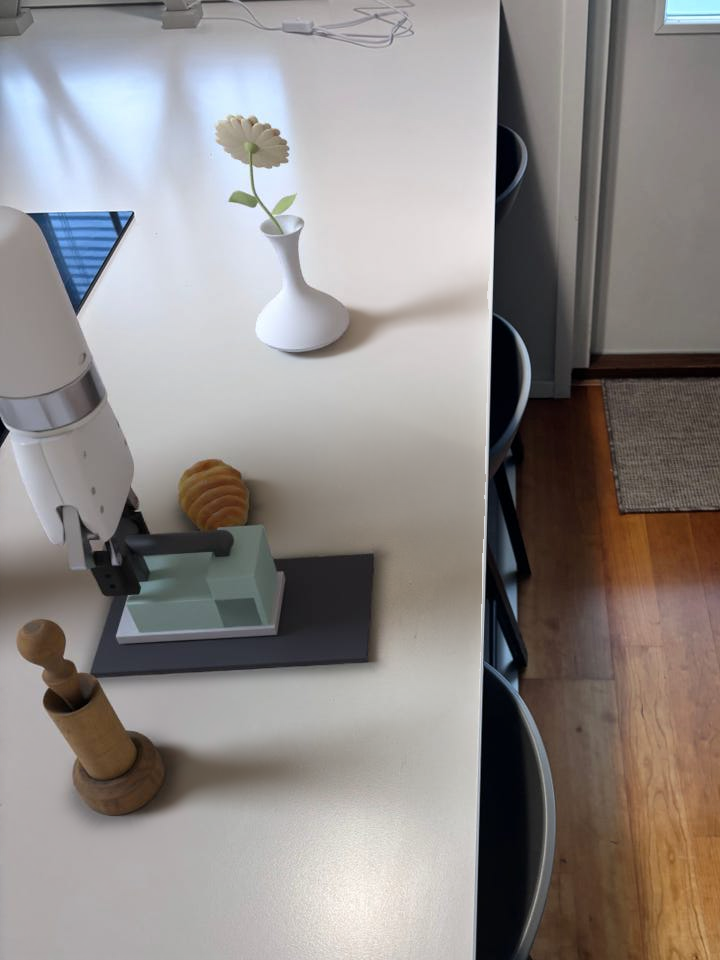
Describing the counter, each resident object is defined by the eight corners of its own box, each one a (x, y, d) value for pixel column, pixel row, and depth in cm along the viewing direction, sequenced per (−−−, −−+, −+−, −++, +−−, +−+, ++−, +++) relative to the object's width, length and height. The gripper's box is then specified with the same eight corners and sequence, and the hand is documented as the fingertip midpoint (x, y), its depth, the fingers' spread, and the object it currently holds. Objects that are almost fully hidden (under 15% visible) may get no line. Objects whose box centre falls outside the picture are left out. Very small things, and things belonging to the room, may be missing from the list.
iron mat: (91, 677, 85) (89, 673, 85) (124, 572, 94) (122, 567, 93) (367, 662, 84) (366, 657, 84) (374, 557, 93) (373, 552, 93)
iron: (119, 644, 86) (80, 566, 79) (135, 587, 91) (100, 509, 84) (277, 635, 86) (252, 556, 79) (285, 578, 91) (262, 499, 84)
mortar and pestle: (64, 791, 77) (-40, 639, 64) (125, 733, 81) (39, 578, 67) (121, 830, 75) (26, 680, 61) (182, 769, 78) (104, 614, 65)
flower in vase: (370, 325, 120) (336, 108, 102) (310, 371, 114) (262, 149, 96) (291, 299, 126) (245, 88, 107) (229, 342, 120) (169, 126, 101)
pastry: (266, 529, 96) (257, 500, 94) (199, 553, 95) (188, 523, 92) (239, 476, 102) (230, 447, 99) (176, 497, 101) (165, 468, 98)
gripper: (29, 330, 77) (108, 508, 90) (-42, 467, 65) (61, 647, 79) (124, 324, 76) (189, 503, 90) (70, 460, 65) (153, 641, 79)
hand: (129, 568), depth 84 cm, fingers closed on iron, 4 cm apart
